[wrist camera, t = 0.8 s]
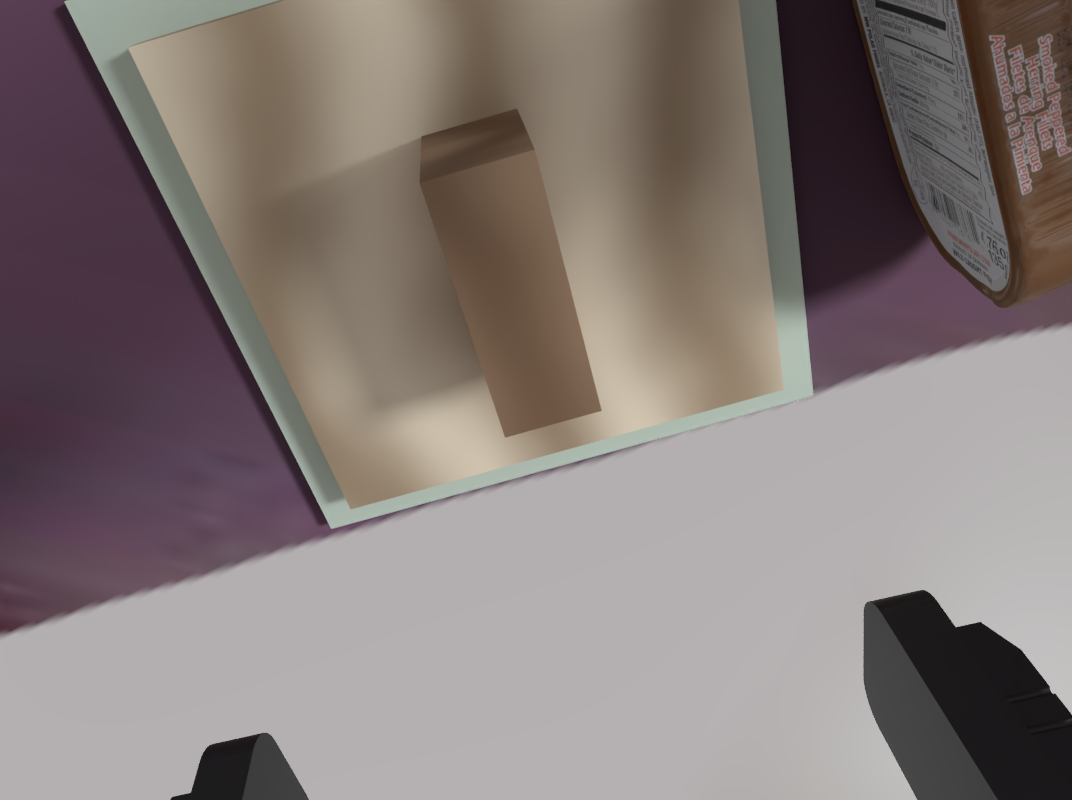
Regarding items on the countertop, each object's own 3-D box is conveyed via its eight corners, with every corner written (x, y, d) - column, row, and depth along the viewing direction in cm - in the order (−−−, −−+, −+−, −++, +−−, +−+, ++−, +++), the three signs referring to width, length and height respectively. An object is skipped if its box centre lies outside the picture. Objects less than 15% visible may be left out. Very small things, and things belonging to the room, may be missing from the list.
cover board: (710, -130, 24) (791, -142, 18) (772, 374, 32) (839, 465, 27) (140, 41, 24) (58, 79, 19) (353, 490, 33) (338, 602, 28)
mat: (748, -207, 23) (756, -209, 23) (807, 388, 33) (813, 395, 33) (71, -1, 24) (63, 1, 23) (332, 519, 34) (331, 529, 34)
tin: (985, 221, 31) (1155, 317, 24) (904, 261, 31) (1046, 368, 24) (883, -234, 23) (1085, -298, 16) (778, -173, 24) (929, -207, 17)
